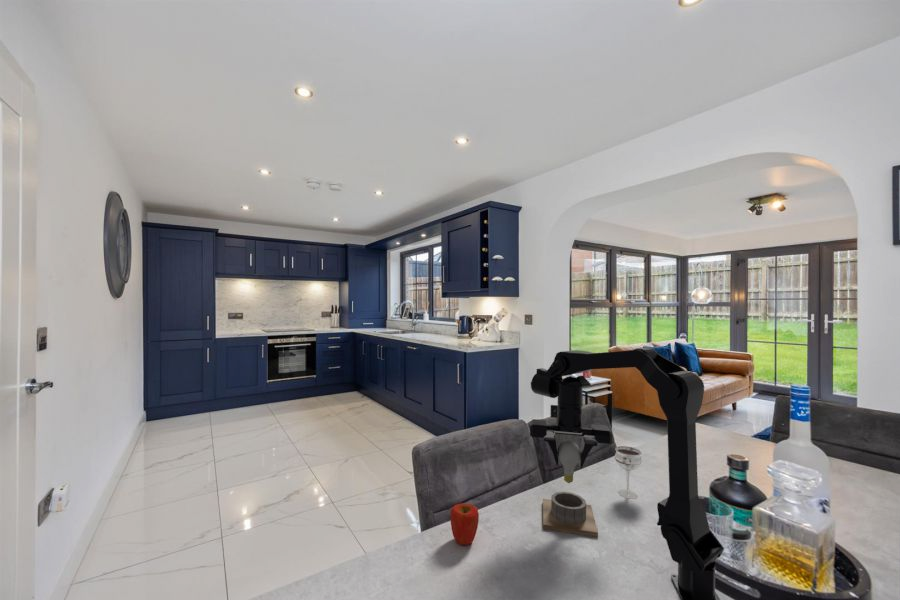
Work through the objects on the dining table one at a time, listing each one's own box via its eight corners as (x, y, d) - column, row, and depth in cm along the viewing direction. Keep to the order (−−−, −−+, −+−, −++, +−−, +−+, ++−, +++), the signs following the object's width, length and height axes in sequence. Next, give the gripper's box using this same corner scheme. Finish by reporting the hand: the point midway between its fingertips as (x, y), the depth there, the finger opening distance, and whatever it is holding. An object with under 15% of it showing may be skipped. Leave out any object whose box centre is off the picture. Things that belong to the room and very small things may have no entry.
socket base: (598, 537, 85) (598, 517, 85) (543, 528, 88) (543, 509, 88) (590, 509, 97) (591, 491, 97) (542, 502, 100) (543, 485, 100)
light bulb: (581, 489, 89) (582, 446, 89) (557, 486, 90) (558, 444, 90) (578, 478, 95) (579, 438, 95) (556, 476, 96) (556, 436, 96)
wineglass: (634, 503, 100) (634, 457, 101) (609, 492, 106) (610, 449, 106) (645, 495, 105) (646, 451, 105) (621, 485, 110) (622, 444, 110)
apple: (471, 529, 87) (471, 497, 87) (483, 546, 82) (483, 511, 82) (445, 535, 85) (446, 501, 85) (456, 552, 79) (456, 516, 79)
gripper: (604, 397, 98) (603, 457, 98) (531, 392, 103) (530, 450, 102) (612, 408, 88) (612, 476, 87) (530, 402, 92) (529, 467, 92)
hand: (568, 466), depth 93 cm, fingers closed on light bulb, 5 cm apart
